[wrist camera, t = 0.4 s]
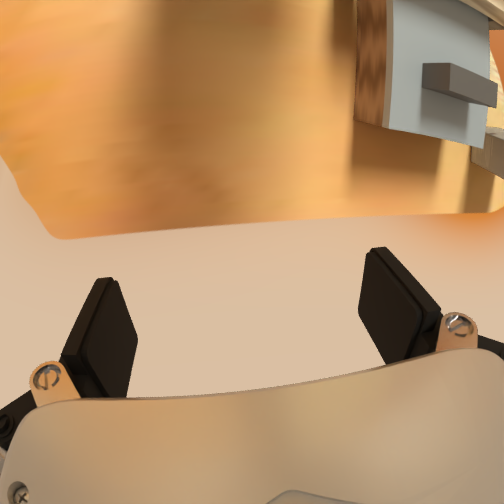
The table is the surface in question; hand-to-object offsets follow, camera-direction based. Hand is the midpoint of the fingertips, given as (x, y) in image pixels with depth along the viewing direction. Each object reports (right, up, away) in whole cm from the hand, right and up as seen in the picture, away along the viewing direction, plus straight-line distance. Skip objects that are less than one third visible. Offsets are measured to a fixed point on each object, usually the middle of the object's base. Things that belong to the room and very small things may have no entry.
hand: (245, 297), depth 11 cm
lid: (+23, +27, +14) cm, 38 cm away
